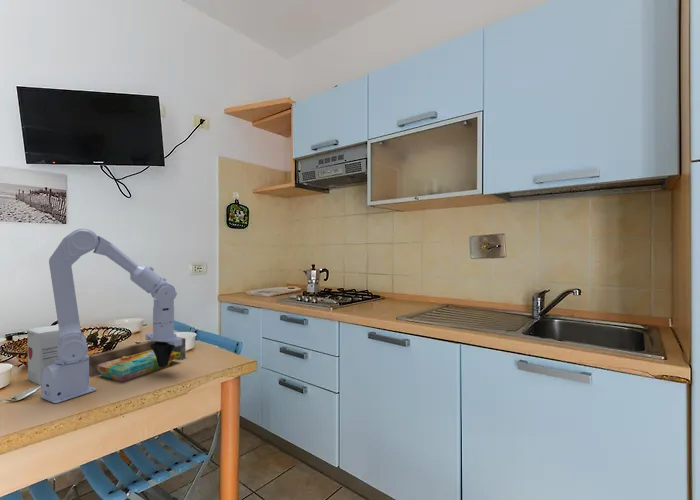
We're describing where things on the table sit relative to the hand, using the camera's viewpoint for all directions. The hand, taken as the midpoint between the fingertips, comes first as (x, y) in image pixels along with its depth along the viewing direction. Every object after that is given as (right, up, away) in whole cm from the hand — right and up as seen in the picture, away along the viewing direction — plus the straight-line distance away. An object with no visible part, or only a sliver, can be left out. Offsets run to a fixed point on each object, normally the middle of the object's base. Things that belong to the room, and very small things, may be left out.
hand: (163, 366), depth 108 cm
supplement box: (-32, -3, -3) cm, 32 cm away
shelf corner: (-12, -3, +8) cm, 14 cm away
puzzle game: (-9, -3, +5) cm, 11 cm away
